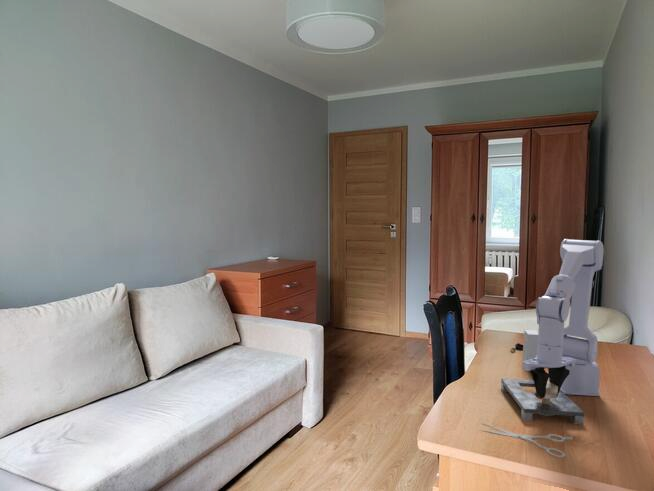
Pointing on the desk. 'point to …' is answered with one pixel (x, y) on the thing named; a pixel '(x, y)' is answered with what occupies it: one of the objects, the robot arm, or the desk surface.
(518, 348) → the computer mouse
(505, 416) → the desk surface
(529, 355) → the skincare box
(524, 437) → the scissors
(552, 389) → the key peg
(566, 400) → the keyhole plate
